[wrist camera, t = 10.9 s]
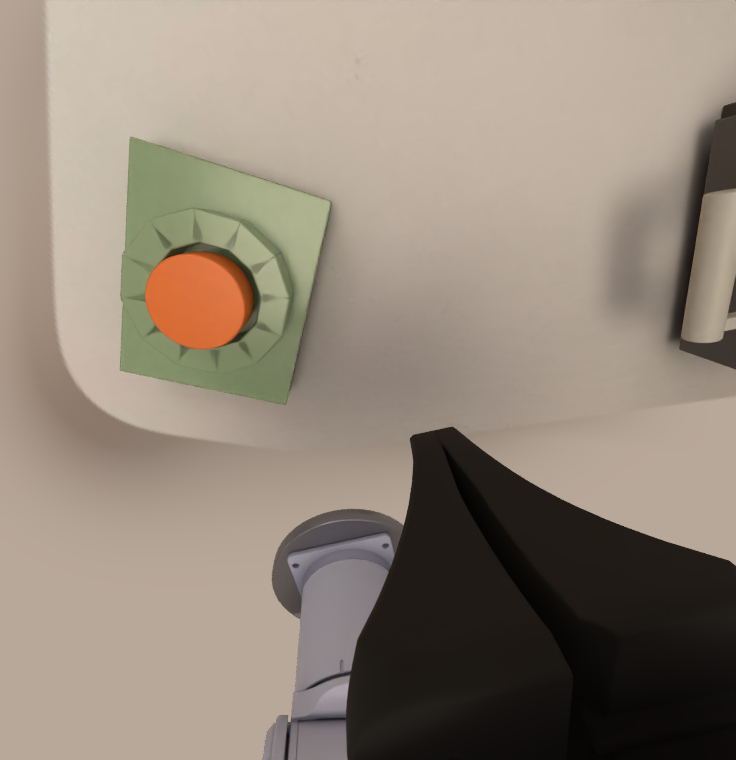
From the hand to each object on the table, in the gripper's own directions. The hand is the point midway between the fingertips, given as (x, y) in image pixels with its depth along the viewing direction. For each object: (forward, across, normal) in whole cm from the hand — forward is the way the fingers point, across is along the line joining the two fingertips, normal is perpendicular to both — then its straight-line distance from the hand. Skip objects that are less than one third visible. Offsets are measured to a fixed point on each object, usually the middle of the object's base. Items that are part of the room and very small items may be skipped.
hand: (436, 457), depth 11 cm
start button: (+7, +7, -5) cm, 11 cm away
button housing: (+10, +7, -5) cm, 14 cm away
